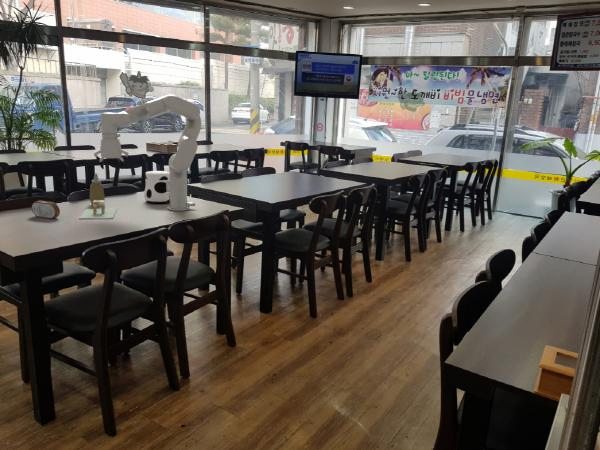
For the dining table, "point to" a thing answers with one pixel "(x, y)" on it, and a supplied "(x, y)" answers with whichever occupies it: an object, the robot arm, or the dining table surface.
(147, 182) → the milk container
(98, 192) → the squeeze bottle
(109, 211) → the mat
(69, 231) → the dining table surface
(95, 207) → the stool
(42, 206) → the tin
